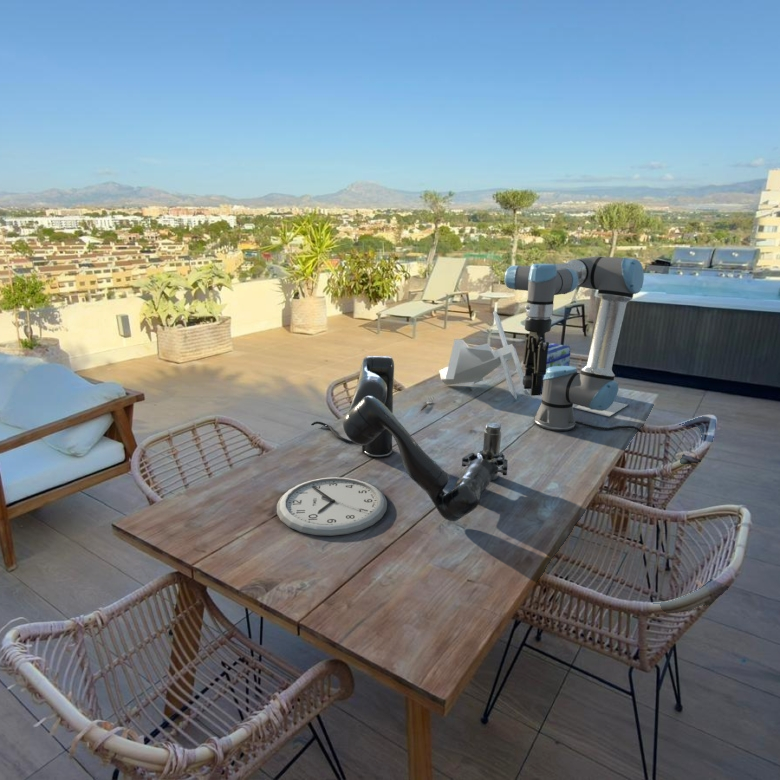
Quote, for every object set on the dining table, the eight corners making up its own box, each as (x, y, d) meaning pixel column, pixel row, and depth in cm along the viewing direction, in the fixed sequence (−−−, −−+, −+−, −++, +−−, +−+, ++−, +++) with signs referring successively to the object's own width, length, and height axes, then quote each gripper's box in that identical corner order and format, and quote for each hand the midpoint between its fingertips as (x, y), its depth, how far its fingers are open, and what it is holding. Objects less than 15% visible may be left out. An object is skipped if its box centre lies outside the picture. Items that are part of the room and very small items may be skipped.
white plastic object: (461, 429, 252) (437, 405, 227) (444, 352, 274) (420, 323, 250) (535, 404, 240) (518, 377, 215) (510, 326, 262) (492, 293, 237)
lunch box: (542, 395, 240) (547, 351, 233) (522, 390, 247) (526, 347, 241) (569, 384, 257) (575, 343, 251) (550, 380, 264) (554, 339, 258)
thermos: (478, 473, 163) (482, 422, 158) (493, 472, 164) (497, 421, 159) (484, 480, 158) (488, 428, 153) (499, 479, 159) (504, 427, 154)
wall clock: (392, 527, 129) (268, 531, 127) (391, 533, 130) (269, 537, 127) (383, 473, 158) (282, 475, 155) (383, 478, 158) (282, 480, 156)
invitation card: (608, 416, 214) (573, 407, 224) (608, 416, 214) (573, 408, 224) (628, 404, 229) (594, 396, 238) (628, 405, 229) (594, 397, 238)
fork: (417, 411, 216) (418, 406, 216) (428, 400, 231) (428, 395, 230) (423, 412, 215) (424, 407, 215) (434, 400, 230) (434, 396, 229)
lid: (528, 388, 158) (528, 381, 157) (519, 382, 163) (519, 375, 162) (545, 387, 159) (546, 379, 158) (536, 381, 164) (536, 374, 164)
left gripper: (503, 469, 143) (517, 447, 157) (453, 459, 149) (471, 438, 163) (501, 494, 145) (515, 470, 160) (452, 483, 151) (469, 460, 165)
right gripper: (516, 312, 163) (510, 383, 170) (537, 323, 145) (530, 402, 153) (539, 312, 164) (533, 382, 171) (563, 323, 146) (555, 401, 153)
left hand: (492, 454), depth 161 cm, fingers closed on thermos, 5 cm apart
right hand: (531, 391), depth 162 cm, fingers closed on lid, 6 cm apart
